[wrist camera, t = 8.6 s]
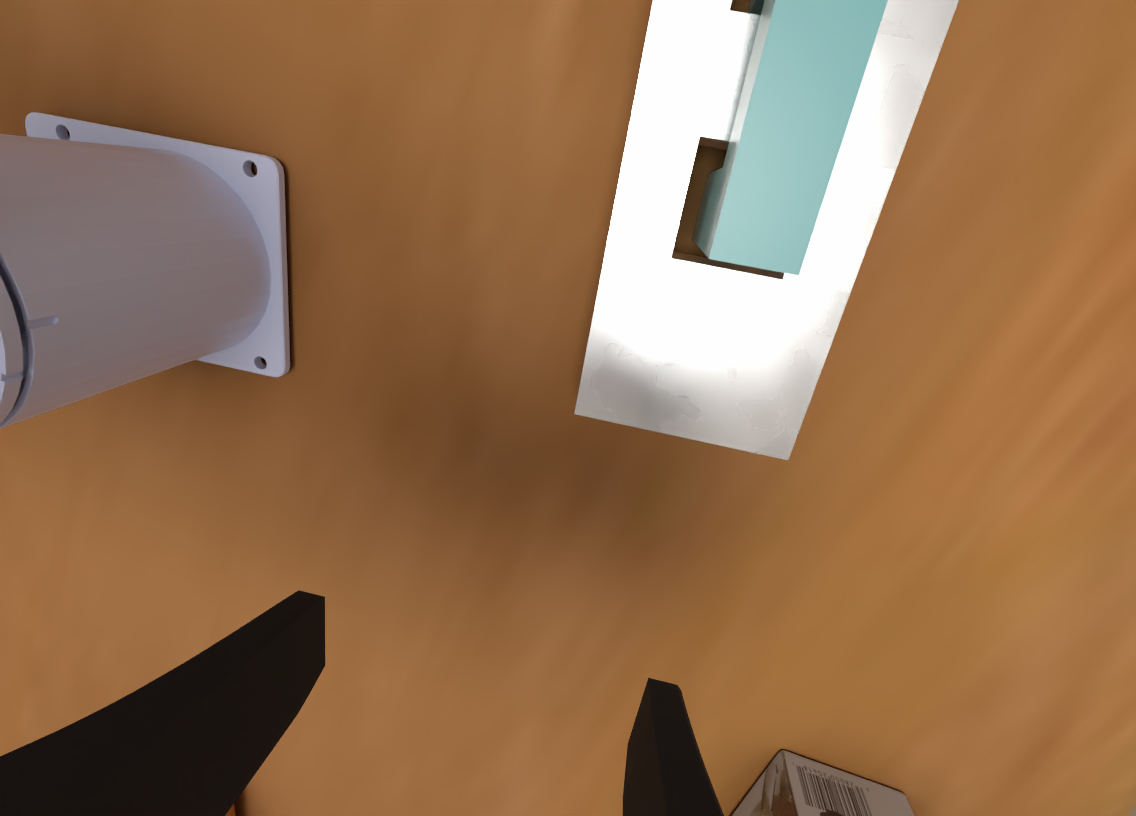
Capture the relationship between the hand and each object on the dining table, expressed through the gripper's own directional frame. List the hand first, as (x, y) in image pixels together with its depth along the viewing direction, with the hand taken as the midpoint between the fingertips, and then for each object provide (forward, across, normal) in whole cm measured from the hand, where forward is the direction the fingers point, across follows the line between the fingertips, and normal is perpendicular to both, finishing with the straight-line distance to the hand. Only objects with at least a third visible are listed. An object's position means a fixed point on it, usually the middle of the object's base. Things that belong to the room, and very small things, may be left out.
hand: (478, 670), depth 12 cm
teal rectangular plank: (+10, -4, -13) cm, 17 cm away
